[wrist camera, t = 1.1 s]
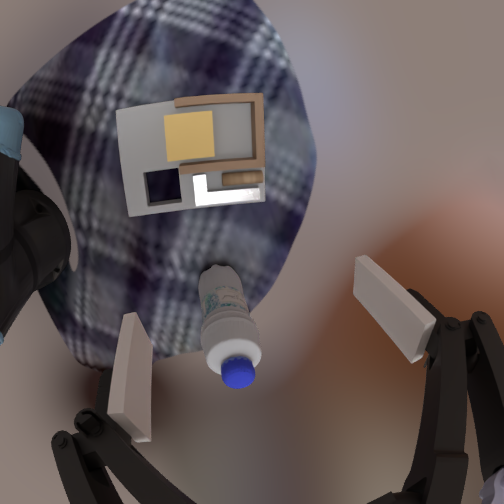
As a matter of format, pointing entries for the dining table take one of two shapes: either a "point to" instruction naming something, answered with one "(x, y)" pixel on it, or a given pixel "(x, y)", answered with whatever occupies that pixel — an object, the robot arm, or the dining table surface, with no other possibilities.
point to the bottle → (228, 327)
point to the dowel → (242, 178)
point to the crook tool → (222, 192)
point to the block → (189, 135)
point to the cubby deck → (155, 158)
